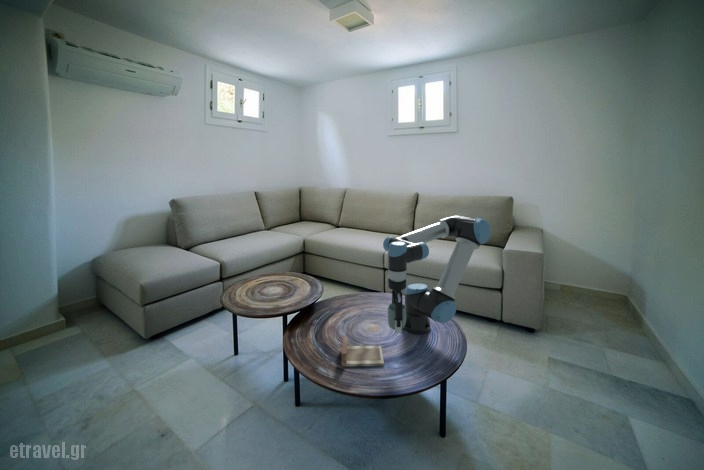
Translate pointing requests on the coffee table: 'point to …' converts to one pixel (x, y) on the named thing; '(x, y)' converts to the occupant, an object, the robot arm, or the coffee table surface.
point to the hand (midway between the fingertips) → (396, 327)
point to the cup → (392, 315)
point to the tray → (361, 355)
